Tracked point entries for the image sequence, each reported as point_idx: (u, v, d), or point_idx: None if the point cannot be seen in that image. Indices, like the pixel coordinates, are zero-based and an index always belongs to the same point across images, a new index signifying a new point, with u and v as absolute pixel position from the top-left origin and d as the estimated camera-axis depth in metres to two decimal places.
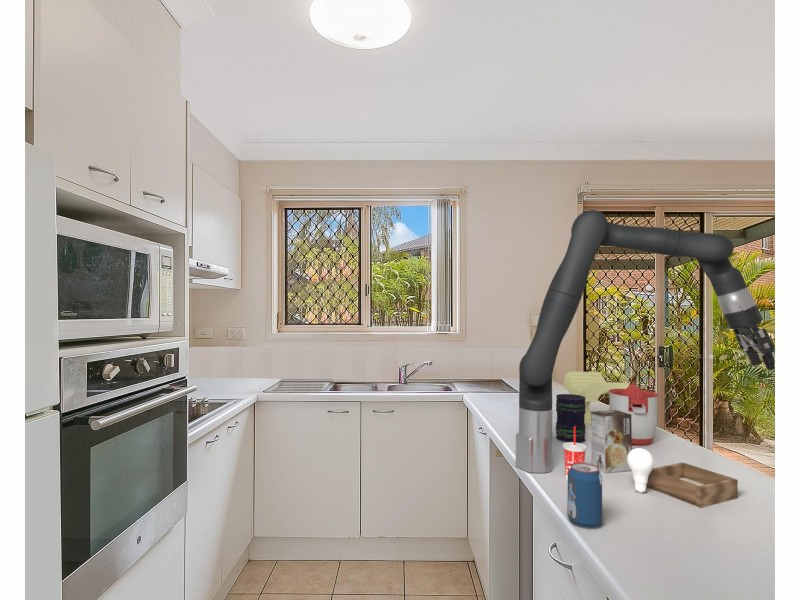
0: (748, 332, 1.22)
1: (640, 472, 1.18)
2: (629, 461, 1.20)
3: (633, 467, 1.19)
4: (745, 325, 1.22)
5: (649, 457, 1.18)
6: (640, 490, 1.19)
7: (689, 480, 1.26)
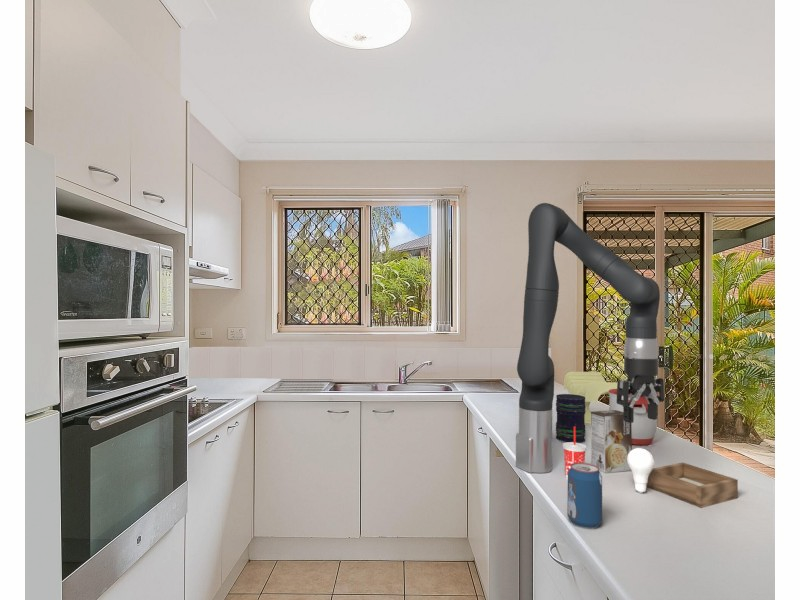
0: None
1: (640, 472, 1.18)
2: (629, 461, 1.20)
3: (633, 467, 1.19)
4: (626, 372, 1.20)
5: (649, 457, 1.18)
6: (640, 490, 1.19)
7: (689, 480, 1.26)
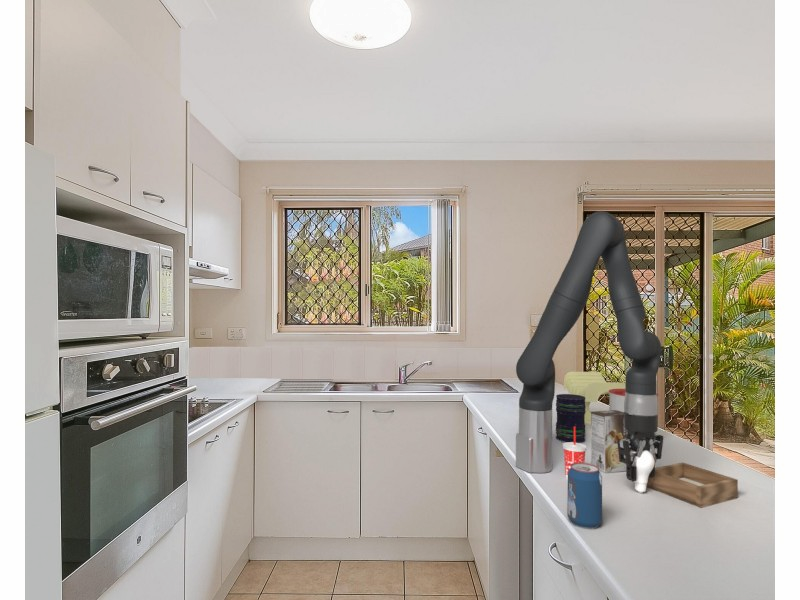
0: None
1: (640, 472, 1.18)
2: None
3: None
4: (626, 428, 1.20)
5: (649, 457, 1.18)
6: (640, 490, 1.19)
7: (689, 480, 1.26)
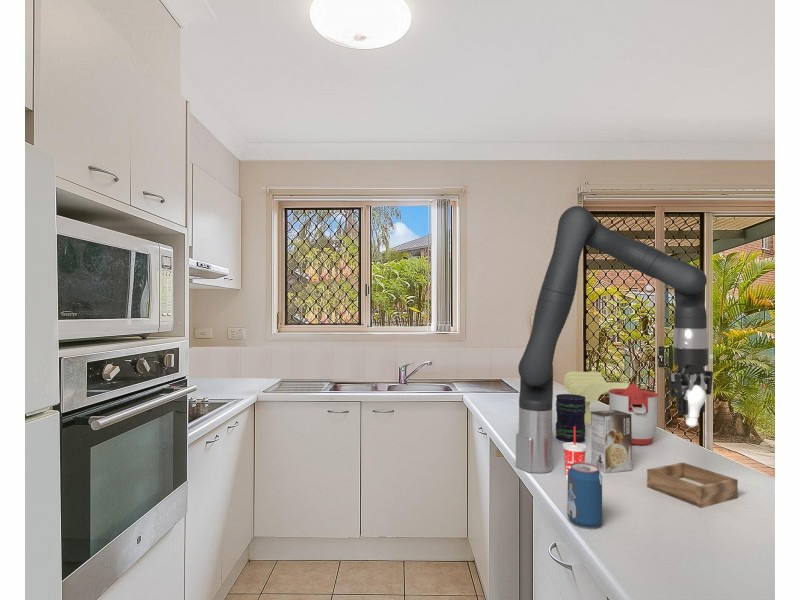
0: None
1: (692, 406, 1.19)
2: None
3: None
4: (676, 363, 1.21)
5: (701, 391, 1.18)
6: (692, 424, 1.19)
7: (689, 480, 1.26)
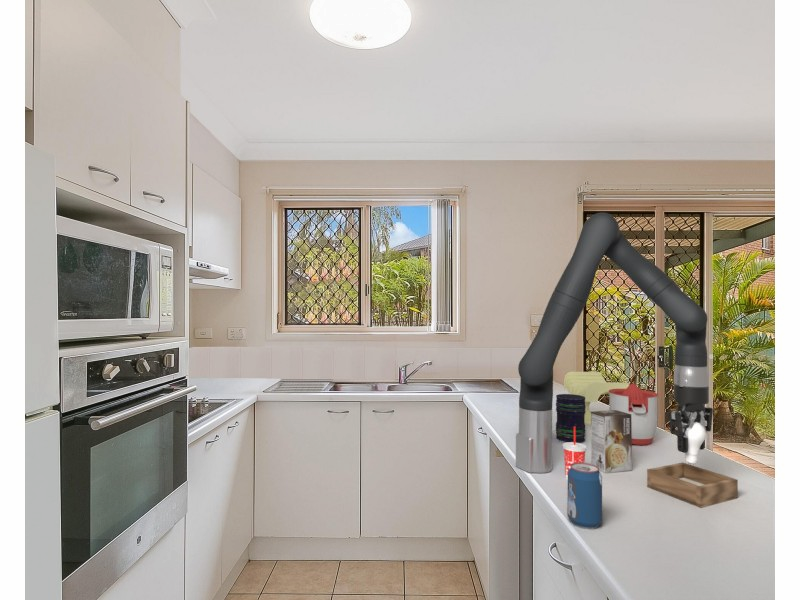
0: None
1: (692, 443, 1.19)
2: None
3: None
4: (676, 400, 1.21)
5: (701, 429, 1.18)
6: (691, 462, 1.20)
7: (689, 480, 1.26)
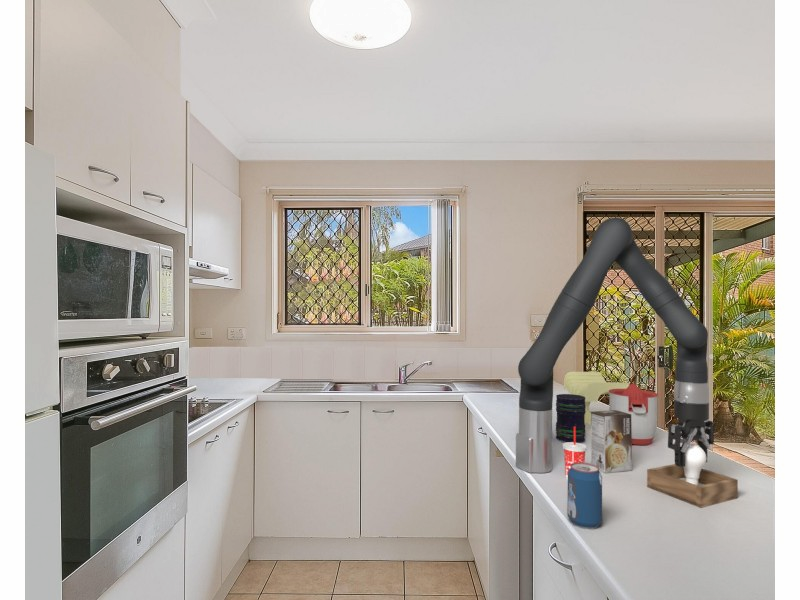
0: None
1: (692, 467, 1.19)
2: None
3: (686, 462, 1.19)
4: (676, 416, 1.21)
5: (702, 453, 1.18)
6: None
7: None
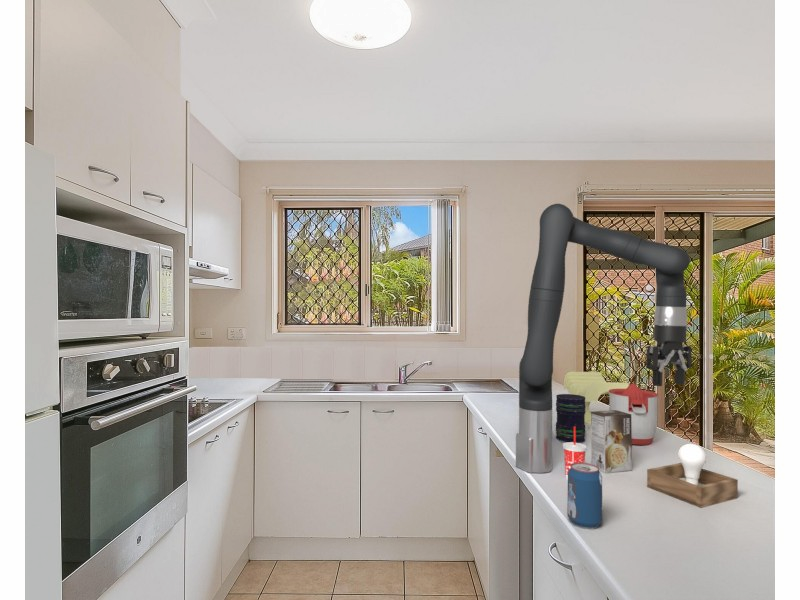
0: None
1: (692, 467, 1.19)
2: (681, 457, 1.20)
3: (686, 462, 1.19)
4: (656, 339, 1.27)
5: (702, 453, 1.18)
6: None
7: None
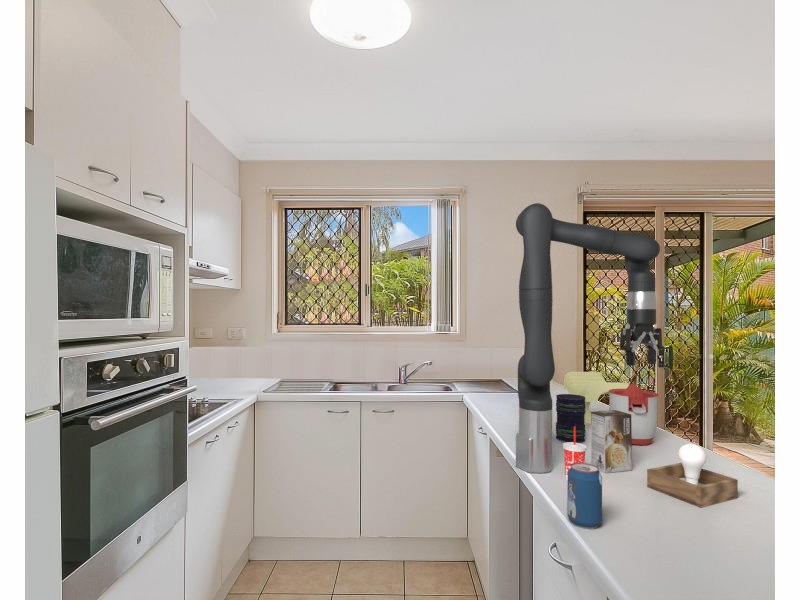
0: None
1: (693, 467, 1.19)
2: (681, 456, 1.20)
3: (686, 462, 1.19)
4: (628, 322, 1.36)
5: (702, 453, 1.18)
6: None
7: None
